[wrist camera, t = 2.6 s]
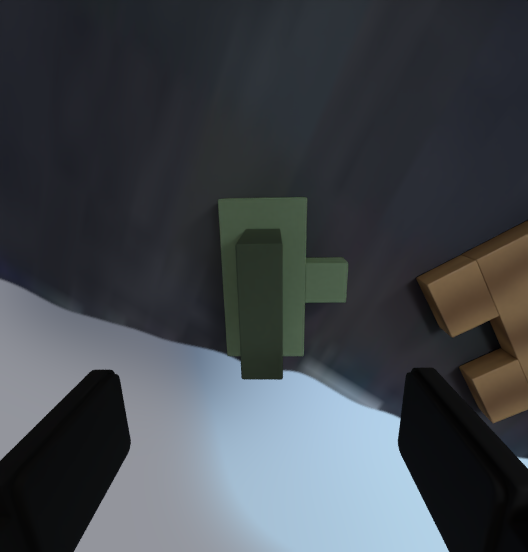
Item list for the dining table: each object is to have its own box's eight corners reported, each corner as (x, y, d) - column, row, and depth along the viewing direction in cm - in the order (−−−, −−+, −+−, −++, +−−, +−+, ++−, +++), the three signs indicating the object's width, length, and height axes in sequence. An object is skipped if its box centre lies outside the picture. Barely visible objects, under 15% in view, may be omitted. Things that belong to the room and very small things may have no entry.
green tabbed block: (222, 198, 22) (196, 203, 14) (346, 196, 21) (383, 200, 14) (230, 344, 25) (213, 408, 18) (337, 344, 25) (363, 409, 17)
